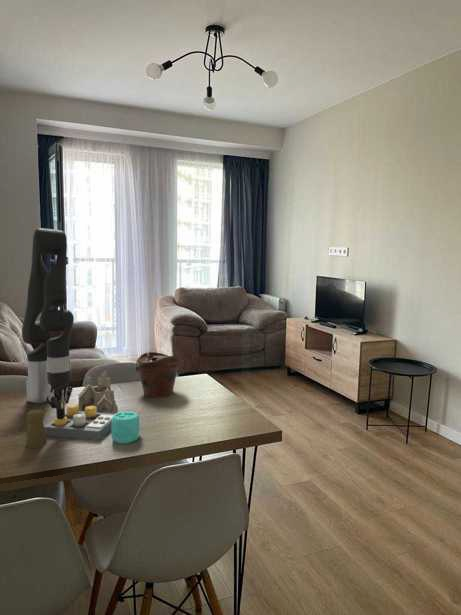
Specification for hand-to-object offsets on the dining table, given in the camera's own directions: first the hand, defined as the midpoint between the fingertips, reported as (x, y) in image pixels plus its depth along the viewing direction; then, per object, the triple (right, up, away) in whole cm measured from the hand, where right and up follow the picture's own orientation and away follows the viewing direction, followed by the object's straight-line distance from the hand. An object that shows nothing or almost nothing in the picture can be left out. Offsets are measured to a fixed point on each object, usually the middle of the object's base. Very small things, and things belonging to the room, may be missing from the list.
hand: (60, 418), depth 154 cm
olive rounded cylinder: (-4, -6, -9) cm, 12 cm away
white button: (+7, -2, -1) cm, 7 cm away
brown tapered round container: (+26, 0, +45) cm, 52 cm away
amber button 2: (+1, -1, +8) cm, 8 cm away
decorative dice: (+23, -6, -4) cm, 24 cm away
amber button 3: (+8, -1, +7) cm, 11 cm away
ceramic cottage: (+6, -3, +21) cm, 22 cm away
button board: (+6, -4, +4) cm, 9 cm away
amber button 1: (0, -3, 0) cm, 3 cm away
